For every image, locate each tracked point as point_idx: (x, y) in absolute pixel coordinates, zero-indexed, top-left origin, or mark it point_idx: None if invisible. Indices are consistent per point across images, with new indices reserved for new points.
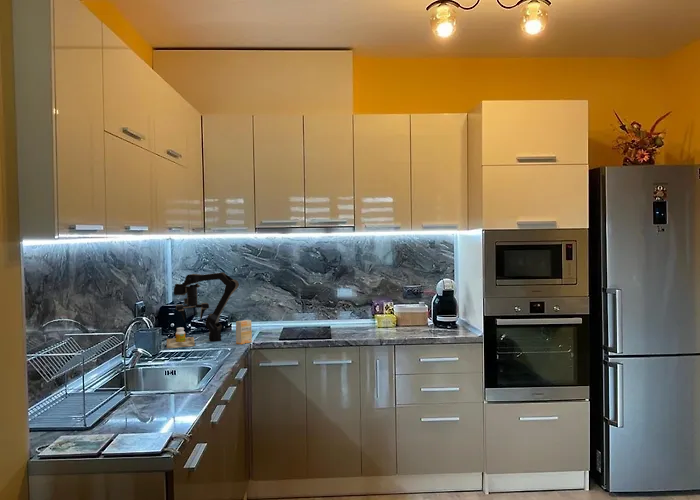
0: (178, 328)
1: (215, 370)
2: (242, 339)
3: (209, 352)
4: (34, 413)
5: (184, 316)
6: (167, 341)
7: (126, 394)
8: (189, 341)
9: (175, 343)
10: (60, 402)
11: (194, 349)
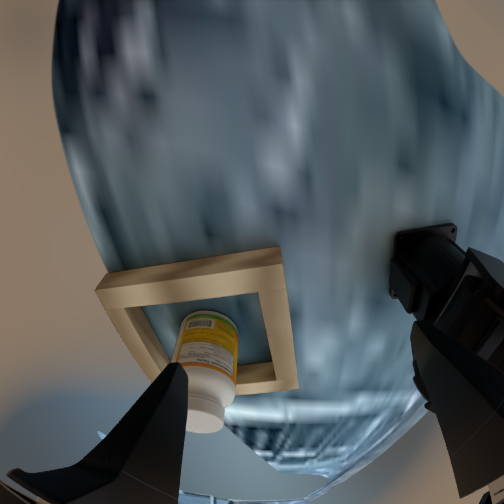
0: (187, 429)
1: (330, 480)
2: None
3: (343, 431)
4: None
5: (178, 456)
6: (136, 356)
7: (226, 500)
8: (270, 382)
9: None
10: None
11: (296, 409)
